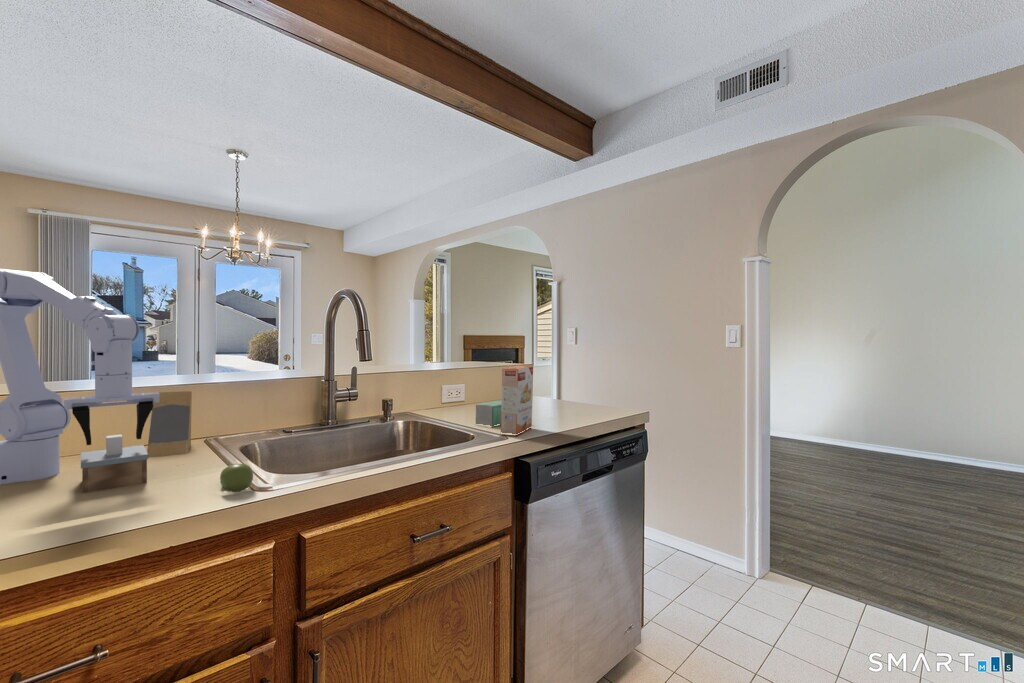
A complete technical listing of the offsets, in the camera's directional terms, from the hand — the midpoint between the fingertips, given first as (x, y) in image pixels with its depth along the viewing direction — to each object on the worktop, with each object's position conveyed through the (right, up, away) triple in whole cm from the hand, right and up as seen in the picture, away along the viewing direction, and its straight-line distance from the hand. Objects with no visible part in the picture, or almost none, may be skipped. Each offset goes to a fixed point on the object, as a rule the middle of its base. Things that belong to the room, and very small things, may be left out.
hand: (114, 441), depth 95 cm
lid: (0, -4, 0) cm, 3 cm away
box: (+75, -9, +68) cm, 102 cm away
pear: (+24, -10, 0) cm, 26 cm away
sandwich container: (-7, -9, +25) cm, 28 cm away
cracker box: (+82, -9, +55) cm, 99 cm away
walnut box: (0, -9, 0) cm, 9 cm away
